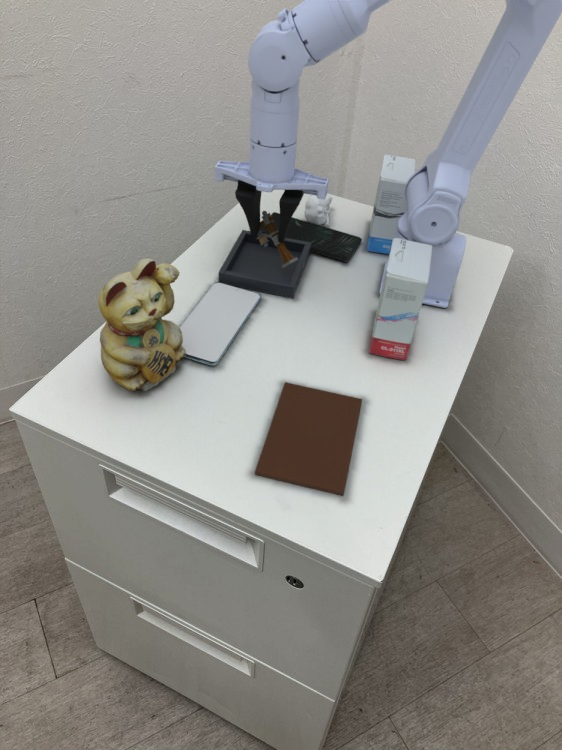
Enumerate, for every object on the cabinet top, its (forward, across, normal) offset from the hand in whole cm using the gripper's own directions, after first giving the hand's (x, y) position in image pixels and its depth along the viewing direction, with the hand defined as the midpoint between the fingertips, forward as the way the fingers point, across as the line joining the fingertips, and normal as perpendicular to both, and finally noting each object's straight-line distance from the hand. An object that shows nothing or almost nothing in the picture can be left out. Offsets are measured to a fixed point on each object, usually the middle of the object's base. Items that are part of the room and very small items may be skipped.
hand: (268, 236), depth 79 cm
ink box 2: (+6, +19, -10) cm, 22 cm away
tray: (+5, 0, 0) cm, 5 cm away
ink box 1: (+6, +15, +14) cm, 21 cm away
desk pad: (+5, +12, -28) cm, 32 cm away
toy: (+3, +6, +16) cm, 18 cm away
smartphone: (+5, -3, -14) cm, 15 cm away
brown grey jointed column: (+3, 0, 0) cm, 3 cm away
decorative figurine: (+5, -9, -24) cm, 27 cm away
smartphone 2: (+5, +4, +9) cm, 11 cm away
